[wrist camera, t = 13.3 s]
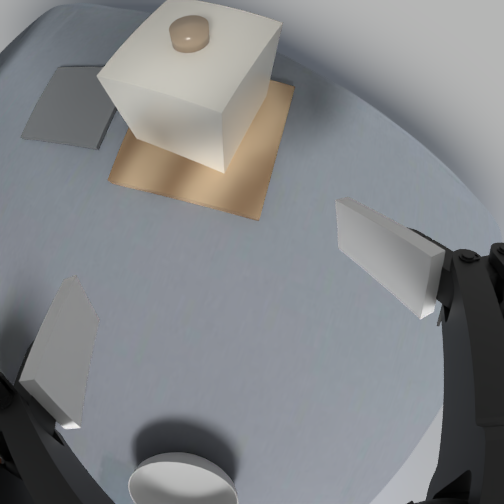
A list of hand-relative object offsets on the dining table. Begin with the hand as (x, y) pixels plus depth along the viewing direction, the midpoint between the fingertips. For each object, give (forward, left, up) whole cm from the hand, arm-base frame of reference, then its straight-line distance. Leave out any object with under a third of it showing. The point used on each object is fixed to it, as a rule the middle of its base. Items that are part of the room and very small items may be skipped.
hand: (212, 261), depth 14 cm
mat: (-21, +13, -11) cm, 27 cm away
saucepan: (+3, -26, -12) cm, 29 cm away
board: (-5, +12, -11) cm, 17 cm away
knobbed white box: (-6, +13, -10) cm, 17 cm away
